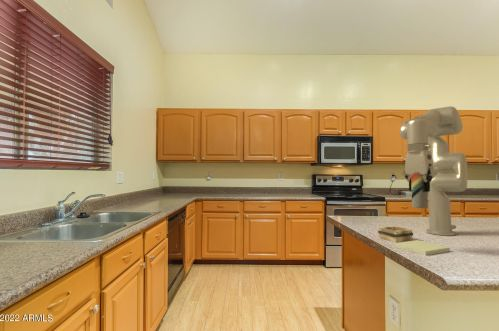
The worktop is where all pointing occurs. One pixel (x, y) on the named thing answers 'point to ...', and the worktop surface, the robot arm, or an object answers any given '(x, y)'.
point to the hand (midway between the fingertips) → (419, 190)
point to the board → (422, 247)
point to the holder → (395, 234)
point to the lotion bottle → (418, 191)
